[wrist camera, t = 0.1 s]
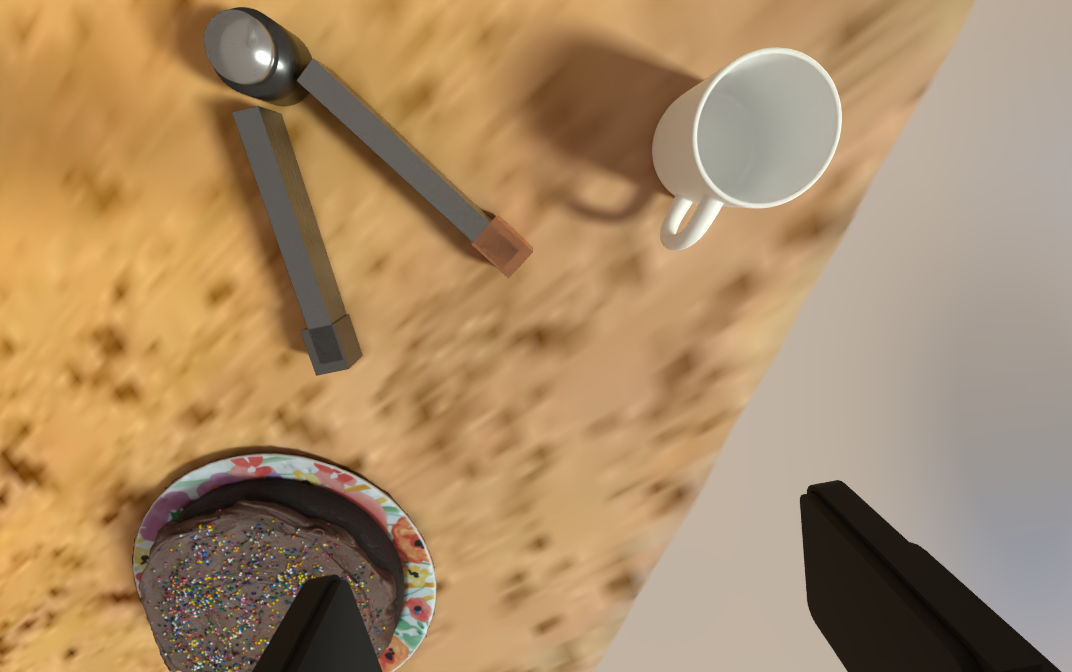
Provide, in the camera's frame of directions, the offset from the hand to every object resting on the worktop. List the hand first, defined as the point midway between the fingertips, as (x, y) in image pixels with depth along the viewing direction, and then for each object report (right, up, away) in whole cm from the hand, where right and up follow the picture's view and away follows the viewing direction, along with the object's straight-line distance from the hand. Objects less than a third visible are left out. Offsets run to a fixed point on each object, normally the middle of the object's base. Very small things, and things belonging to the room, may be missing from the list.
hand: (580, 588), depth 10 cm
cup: (+11, +18, +28) cm, 35 cm away
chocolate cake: (-24, -18, +38) cm, 48 cm away
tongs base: (-17, +15, +28) cm, 36 cm away
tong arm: (-12, +18, +27) cm, 34 cm away
